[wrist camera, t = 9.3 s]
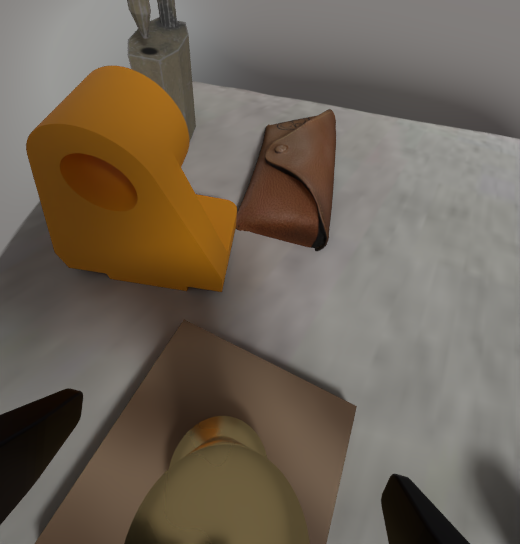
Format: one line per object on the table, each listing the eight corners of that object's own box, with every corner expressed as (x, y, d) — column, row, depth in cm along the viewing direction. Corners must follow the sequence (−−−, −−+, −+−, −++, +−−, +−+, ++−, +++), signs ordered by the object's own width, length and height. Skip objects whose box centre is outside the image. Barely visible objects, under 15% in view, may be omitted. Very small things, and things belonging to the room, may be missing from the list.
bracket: (237, 224, 24) (250, 65, 13) (221, 296, 20) (223, 153, 10) (114, 202, 23) (30, 20, 13) (74, 273, 19) (-92, 94, 9)
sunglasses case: (263, 121, 32) (302, 73, 27) (303, 157, 35) (345, 120, 31) (228, 232, 23) (279, 189, 18) (288, 268, 26) (345, 240, 21)
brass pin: (279, 504, 13) (427, 683, 4) (181, 556, 12) (37, 1038, 2) (248, 403, 15) (292, 359, 6) (162, 437, 14) (45, 451, 5)
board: (278, 710, 11) (283, 734, 10) (38, 550, 12) (24, 559, 11) (349, 407, 17) (356, 406, 16) (185, 324, 18) (183, 319, 17)
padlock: (143, 151, 27) (74, -104, 14) (166, 109, 31) (128, -116, 18) (183, 158, 27) (150, -87, 14) (200, 115, 31) (186, -103, 18)
